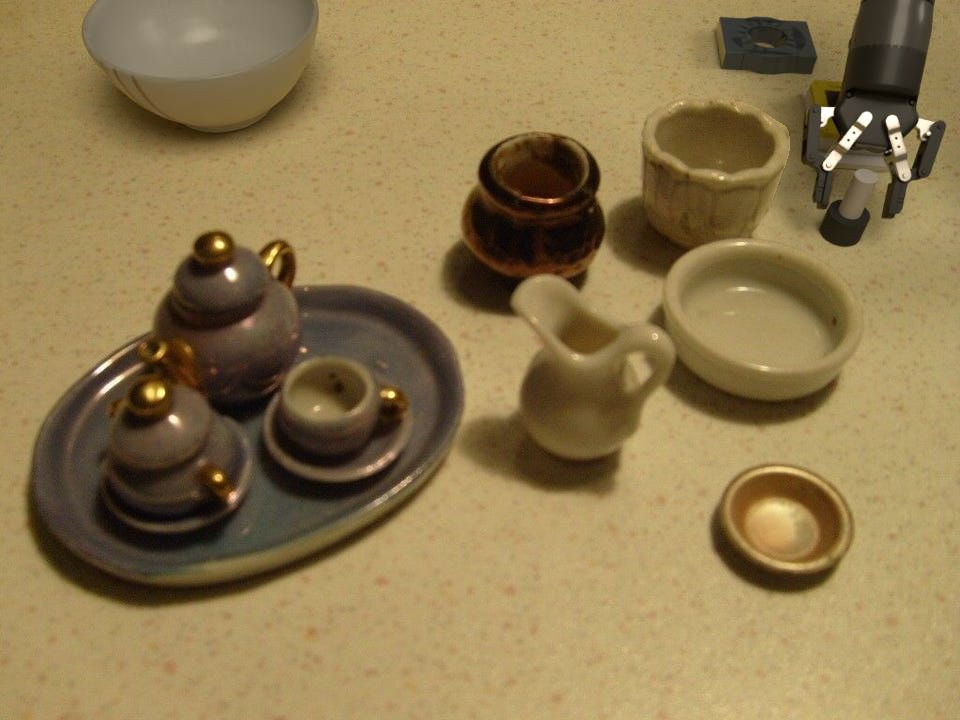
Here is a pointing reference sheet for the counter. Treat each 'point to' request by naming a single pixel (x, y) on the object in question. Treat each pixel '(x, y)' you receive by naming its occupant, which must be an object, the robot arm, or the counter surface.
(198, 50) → the decorative bowl
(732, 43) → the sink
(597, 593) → the counter surface
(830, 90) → the emergency button
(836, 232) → the stopper
